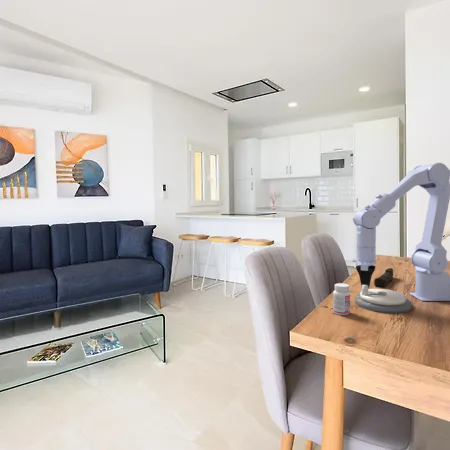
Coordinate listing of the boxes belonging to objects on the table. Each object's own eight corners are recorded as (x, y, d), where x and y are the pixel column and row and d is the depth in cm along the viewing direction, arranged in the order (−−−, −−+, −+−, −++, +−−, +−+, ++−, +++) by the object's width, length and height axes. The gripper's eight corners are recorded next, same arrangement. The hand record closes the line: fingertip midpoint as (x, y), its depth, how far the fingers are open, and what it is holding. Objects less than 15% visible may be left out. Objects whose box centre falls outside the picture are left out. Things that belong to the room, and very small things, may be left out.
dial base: (396, 296, 110) (396, 291, 110) (422, 313, 94) (422, 307, 94) (348, 296, 111) (348, 292, 111) (366, 313, 95) (366, 308, 95)
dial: (392, 292, 109) (392, 279, 108) (414, 305, 96) (415, 290, 95) (353, 293, 109) (353, 280, 108) (371, 306, 96) (371, 291, 95)
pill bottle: (348, 316, 93) (348, 287, 92) (331, 313, 95) (331, 285, 94) (351, 311, 97) (351, 283, 96) (335, 308, 99) (335, 282, 98)
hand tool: (385, 289, 119) (385, 277, 119) (373, 287, 122) (374, 275, 122) (398, 279, 133) (399, 268, 133) (388, 277, 136) (388, 266, 136)
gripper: (354, 243, 113) (354, 281, 114) (350, 249, 100) (350, 292, 101) (377, 244, 110) (376, 283, 111) (375, 250, 97) (374, 294, 98)
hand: (365, 287), depth 106 cm, fingers closed
